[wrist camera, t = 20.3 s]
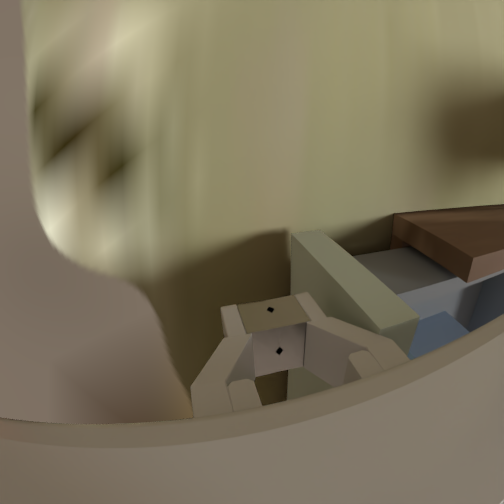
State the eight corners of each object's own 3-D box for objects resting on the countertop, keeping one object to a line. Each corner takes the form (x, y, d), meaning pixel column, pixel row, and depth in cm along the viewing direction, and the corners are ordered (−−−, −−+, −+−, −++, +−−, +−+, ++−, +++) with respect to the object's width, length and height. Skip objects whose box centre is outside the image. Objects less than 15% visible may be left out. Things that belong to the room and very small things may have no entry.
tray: (437, 387, 24) (475, 434, 17) (269, 449, 21) (294, 521, 14) (496, 210, 16) (570, 248, 10) (264, 236, 13) (339, 341, 7)
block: (425, 363, 19) (462, 405, 15) (373, 384, 19) (409, 436, 14) (445, 310, 17) (492, 353, 13) (390, 330, 16) (438, 384, 12)
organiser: (469, 360, 26) (500, 392, 21) (351, 414, 23) (381, 465, 18) (519, 203, 18) (569, 227, 13) (394, 213, 16) (473, 258, 10)
